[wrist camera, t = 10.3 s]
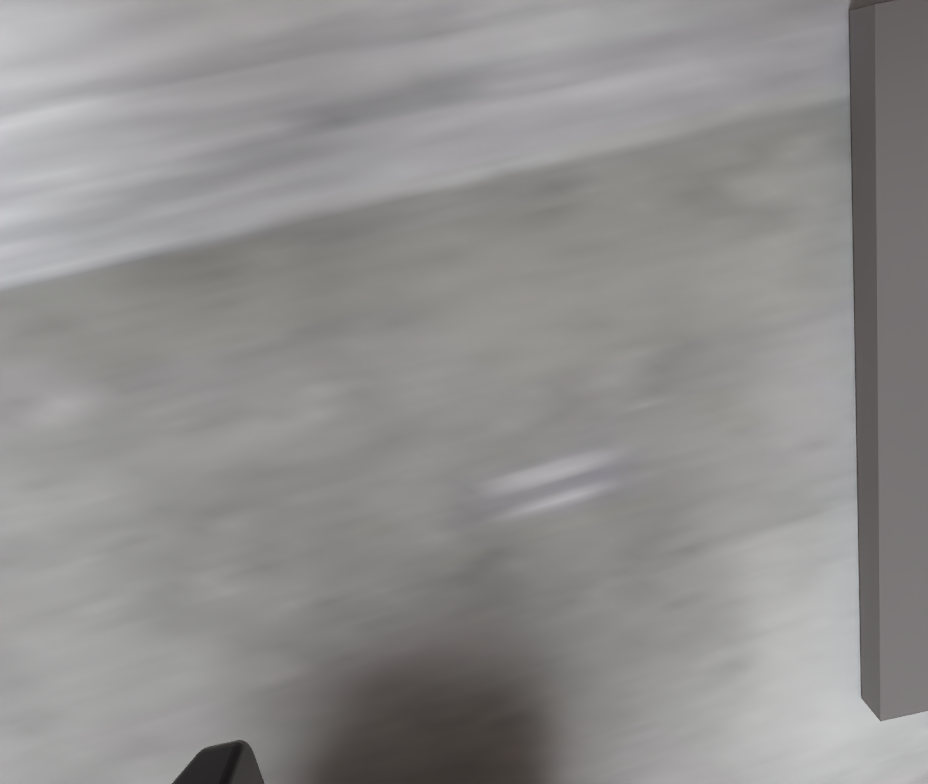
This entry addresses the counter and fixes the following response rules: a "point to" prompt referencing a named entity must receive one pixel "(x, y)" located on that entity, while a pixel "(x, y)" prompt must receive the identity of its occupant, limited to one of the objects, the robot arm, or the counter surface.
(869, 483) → the peg stand
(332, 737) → the counter surface
